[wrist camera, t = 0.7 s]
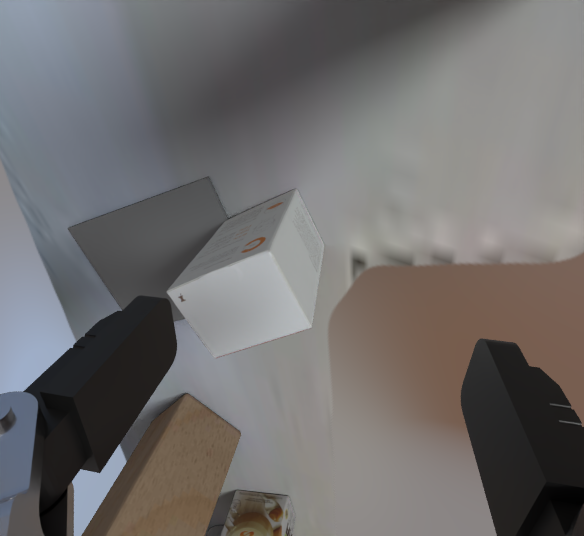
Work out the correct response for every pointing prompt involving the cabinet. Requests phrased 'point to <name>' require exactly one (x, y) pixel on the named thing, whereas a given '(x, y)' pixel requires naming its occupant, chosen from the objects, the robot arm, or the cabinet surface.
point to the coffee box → (259, 515)
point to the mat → (151, 241)
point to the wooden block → (170, 476)
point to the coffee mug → (215, 531)
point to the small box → (253, 278)
